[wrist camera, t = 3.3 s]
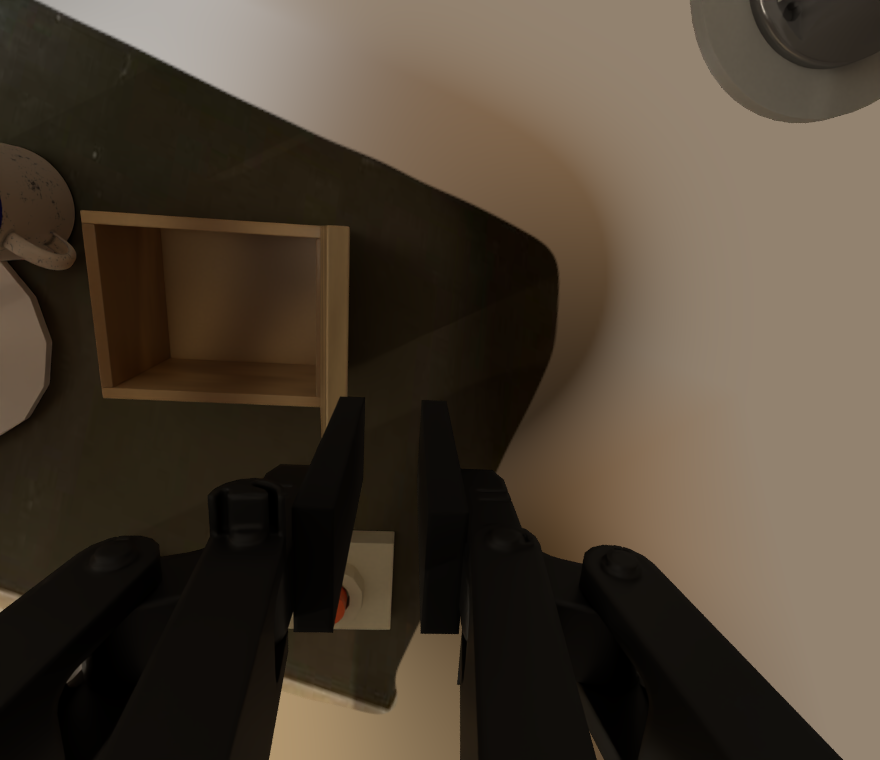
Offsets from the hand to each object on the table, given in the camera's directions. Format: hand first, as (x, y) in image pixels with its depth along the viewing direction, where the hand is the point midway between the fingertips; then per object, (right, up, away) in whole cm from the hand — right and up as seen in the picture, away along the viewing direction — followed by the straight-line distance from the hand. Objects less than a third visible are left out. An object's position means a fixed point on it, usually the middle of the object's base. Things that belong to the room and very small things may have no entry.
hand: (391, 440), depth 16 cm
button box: (-9, -18, +36) cm, 41 cm away
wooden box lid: (-5, +3, +11) cm, 13 cm away
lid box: (-15, +9, +28) cm, 33 cm away
